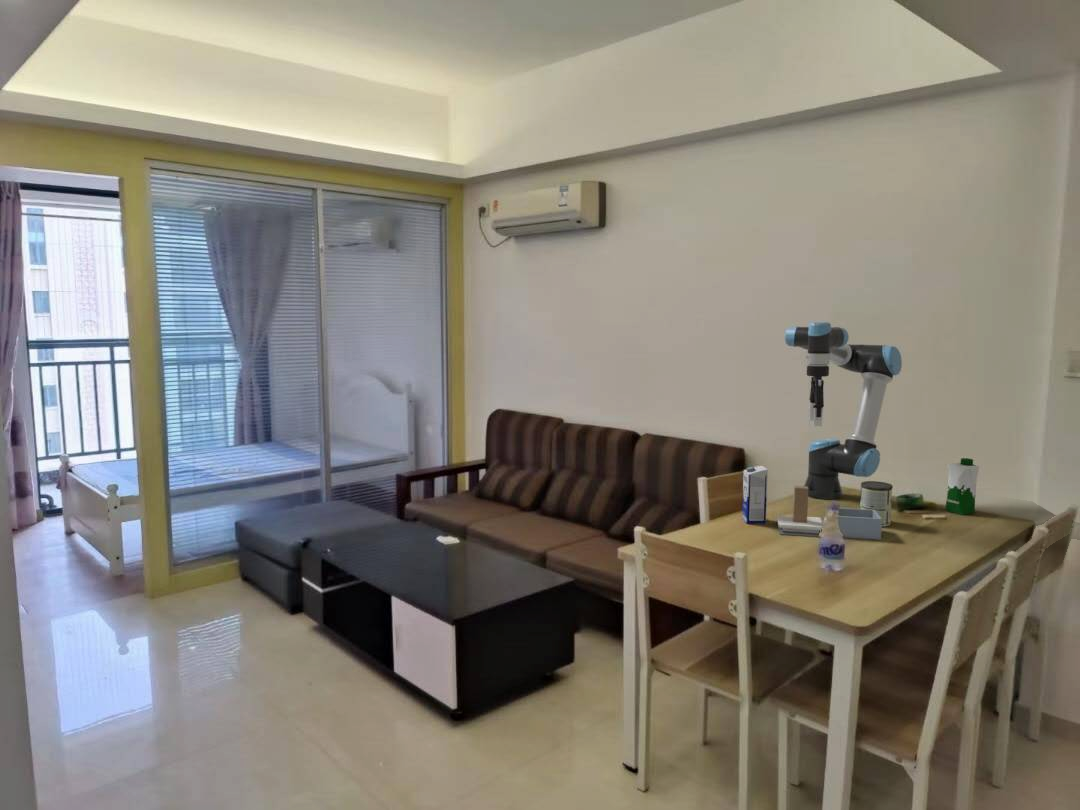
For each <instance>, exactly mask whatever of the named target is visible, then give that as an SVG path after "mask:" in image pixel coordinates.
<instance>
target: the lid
mask: <svg viewBox="0 0 1080 810" xmlns="http://www.w3.org/2000/svg"><path fill="white" fill-rule="evenodd" d="M792 503H793V506H792V515H785V514H776V523H777V522H778V525H777V527H778V526H779V527H780V528H782V529H783V531H790V532H806V533H819V530H821V529H822V524H823V525H824V523H823V521H822V518H821V517H820V516H819V517H817V516H808V511H809V510H808V509H809V507H808V504H809V497H808V487H807V486H804V485H794V486H793V501H792ZM821 531H822V530H821Z"/></svg>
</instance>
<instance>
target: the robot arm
mask: <svg viewBox="0 0 1080 810" xmlns="http://www.w3.org/2000/svg"><path fill="white" fill-rule="evenodd" d="M848 341H849V333H848V331H847V330H846V329H845V328H843V327H840V326H833V327H832V325H831V323H830V322H828V321H827V322H825V321H823V322H822V321H821V322H819V321H818V322H813V321H812V322H810V323H809V324H808V326H790V327H789V328H787V329H786V331H785V333H784V342H785V344H786V345H787V346H788V347H794V348H796V347H799V348H801V349H803V350H806V351H807V355H805V359H807V362H806V363H807V366H806V376H808V377H811V378H810V379H811V380H810V391H809V421H812V422H813V426H814V427H823V412H824V406H825V404H824V403H825V402H824V400H825V399H824V385H825V381H824V379H823V377H829V374H830V366H828V365H830V363H832V365H834V366H836V367H839V368H841V369H844V370H846V371H849V372H852V373H860V376H861V378H862V379H863V384H862V387H861V392H860V395H859V400H858V404H857V407H856V412H855V417H854V421H853V426H852V429H851V433H850V436H849V437H847V438H845V442H844V444H842V442H841V440H840V439H837V438H834V439H833V438H826V439H816V440H812V441H811V442H810V443H809V446H808V447H809V450H808V469H807V470H808V473H807V477H806V480H805V483H804V485H803V486H807V487H808V498H814V499H819V500H820V499H821V500H837V499H841V498H842V497H843V490H842V486H841V483H840V479H839V474H842V475H843V474H844V475H850V476H855V477H861V478H868V477H871V476H872V475H874V474H875V472H877V469H878V468H879V465H880V462H881V452H880V450H878V449H877V447H878V445H877V444H876V442H875V436H876V432H877V427H878V424H879V419H880V415H881V411H882V407H883V402H884V398H885V394H886V389H887V386H888V384H889V383H891V382H892V381H893V378H894V376H897V375H900V372H901V371H902V367H903V363H902V362H903V360H902V355H901V352H900V350H899V348H897V347H896V346H894V345H887V344H882V345H881V344H880V345H879V344H848Z"/></svg>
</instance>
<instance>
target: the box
mask: <svg viewBox="0 0 1080 810" xmlns="http://www.w3.org/2000/svg"><path fill="white" fill-rule="evenodd" d="M838 508H839V514H838V517H837V518H838V525H839V529H840V532H841V533H842V534H843V536H844V537H843V538H850V539H864V540H881V539H882V527H881V525H882V519H881V517H880V516H879V515H878V513H877V512H876V511H875V510H871V509H860V508H851V507H850V508H849V507H838Z"/></svg>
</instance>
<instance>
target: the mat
mask: <svg viewBox="0 0 1080 810" xmlns="http://www.w3.org/2000/svg"><path fill="white" fill-rule="evenodd" d="M776 524H777V528H778V532H779V535H780V536H781V535H782V536H793V537H794V536H797V537H809V538H810V537H811V538H820V537H819V533H820V530H819V533H806V532H790V531H783V529H782V528H780V527H779V526H778V522H777V521H776Z"/></svg>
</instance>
